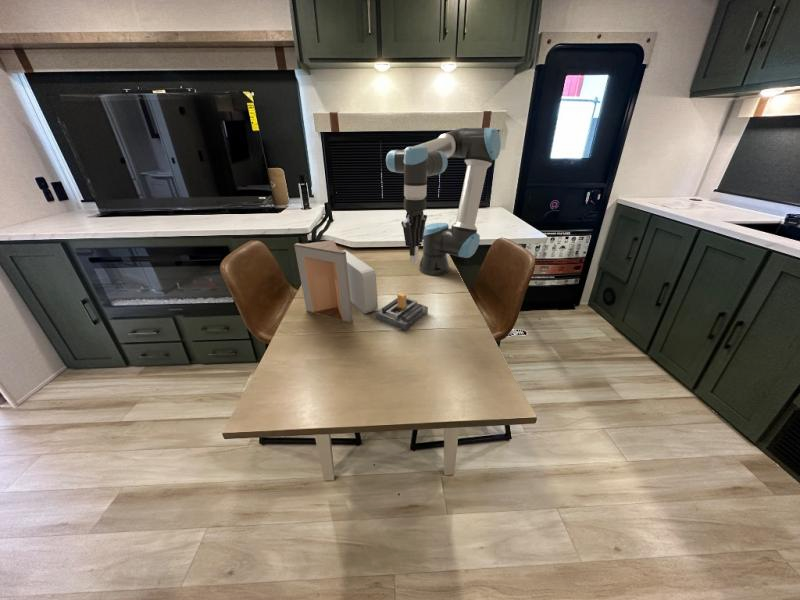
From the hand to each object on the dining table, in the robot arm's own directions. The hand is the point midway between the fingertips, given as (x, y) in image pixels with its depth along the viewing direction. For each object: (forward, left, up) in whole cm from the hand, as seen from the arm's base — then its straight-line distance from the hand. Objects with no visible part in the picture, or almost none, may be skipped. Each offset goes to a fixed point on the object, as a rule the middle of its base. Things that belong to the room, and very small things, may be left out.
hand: (413, 262), depth 117 cm
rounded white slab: (+8, -24, -20) cm, 32 cm away
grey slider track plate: (+8, +1, -17) cm, 18 cm away
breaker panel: (+8, 0, -20) cm, 21 cm away
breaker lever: (+8, 0, -17) cm, 18 cm away
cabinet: (+20, -24, -20) cm, 37 cm away
